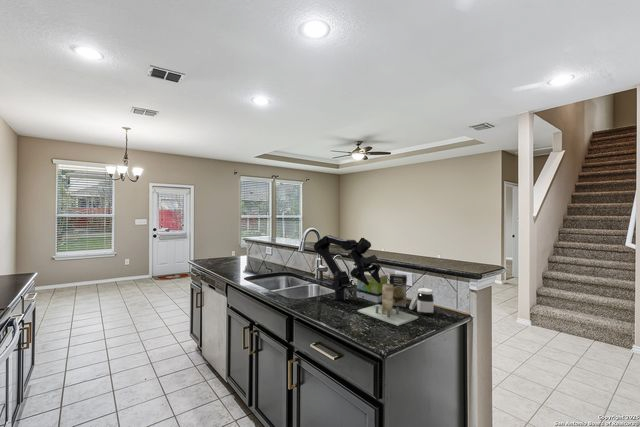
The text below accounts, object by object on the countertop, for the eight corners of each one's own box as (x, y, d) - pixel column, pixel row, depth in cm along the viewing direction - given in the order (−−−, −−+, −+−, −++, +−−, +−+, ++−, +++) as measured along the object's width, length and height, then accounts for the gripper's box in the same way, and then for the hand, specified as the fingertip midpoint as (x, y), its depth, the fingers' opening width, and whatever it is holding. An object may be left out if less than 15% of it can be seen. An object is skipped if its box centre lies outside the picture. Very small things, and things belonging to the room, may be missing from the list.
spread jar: (434, 317, 148) (435, 292, 148) (410, 314, 150) (410, 291, 150) (430, 309, 160) (431, 287, 160) (408, 307, 162) (408, 285, 162)
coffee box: (388, 305, 165) (389, 275, 165) (388, 302, 171) (389, 273, 171) (406, 307, 163) (406, 276, 163) (405, 303, 169) (406, 274, 169)
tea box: (355, 297, 179) (356, 272, 179) (366, 294, 186) (366, 270, 186) (377, 303, 169) (378, 276, 169) (387, 300, 176) (388, 274, 176)
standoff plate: (357, 311, 153) (357, 304, 153) (378, 305, 164) (378, 298, 164) (398, 325, 135) (398, 317, 135) (418, 318, 146) (418, 310, 146)
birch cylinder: (380, 311, 151) (381, 283, 151) (389, 311, 153) (390, 283, 152) (384, 315, 147) (385, 286, 146) (394, 314, 148) (395, 285, 147)
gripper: (355, 250, 153) (371, 276, 145) (378, 249, 166) (395, 273, 157) (343, 264, 159) (358, 289, 151) (367, 261, 172) (382, 285, 163)
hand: (374, 284), depth 156 cm, fingers open, 9 cm apart
